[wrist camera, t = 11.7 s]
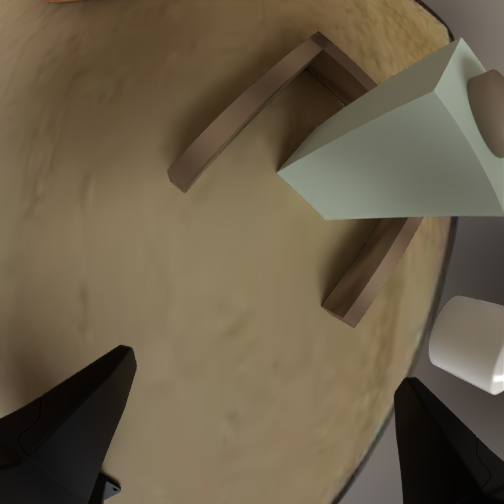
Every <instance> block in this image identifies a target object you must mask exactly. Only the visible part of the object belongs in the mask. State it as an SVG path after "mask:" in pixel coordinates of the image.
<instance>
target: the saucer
mask: <svg viewBox="0 0 504 504" xmlns="http://www.w3.org/2000/svg"><path fill="white" fill-rule="evenodd" d="M41 1H44V2H51V3H66V2H76V1H85V0H41Z"/></svg>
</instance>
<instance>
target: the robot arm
mask: <svg viewBox="0 0 504 504" xmlns="http://www.w3.org/2000/svg"><path fill="white" fill-rule="evenodd" d="M136 368H137V364H136V360H135V355H134V351H133V349H132V347H129V346H125V345H119V346H117V347H116V348H114V349H113V350H111V351H110V352H108V353H107V354H105V355H104V356H102V357H100V358H99V359H97V360H96V361H94V362H93V363H91V364H90V365H88V366H87V367H85V368H83V369H82V370H80V371H79V372H77V373H76V374H74V375H73V376H71V377H70V378H68V379H66V380H65V381H63V382H62V383H60V384H59V385H57V386H56V387H54V388H52V389H51V390H49V391H48V392H46V393H45V394H43V395H42V397H41V396H40V397H38V398H37V399H35V400H34V401H32V402H30V403H29V404H27V405H25V406H24V407H22V408H20V409H18V410H16V411H14V412H13V413H11V414H9V415H6V416H4V417H2V418H0V504H103V503H104V500H105V499H107V498H109V497H111V496H113V495H115V494H117V493H119V492H120V491H121V487H120V486H119V485H118V484H116V483H114V482H113V481H111V480H109V479H108V478H106V477H104V476H103V475H101V474H100V473H99V471H100V468H101V466H102V463H103V461H104V458H105V455H106V453H107V450H108V448H109V445H110V443H111V440H112V438H113V435H114V433H115V431H116V428H117V426H118V423H119V421H120V419H121V416H122V414H123V411H124V409H125V406H126V403H127V399H128V396H129V392H130V389H131V385H132V382H133V379H134V376H135V372H136ZM394 407H395V426H396V438H397V445H398V453H399V461H400V470H401V480H402V492H403V504H504V461H503V460H501V459H500V458H499V457H498V456H497V455H496V454H494V453H493V452H492V451H491V450H490V449H489V448H488V447H487V446H486V445H485V444H484V443H483V442H482V441H481V440H480V439H479V438H478V437H476V435H475V434H473V432H472V431H471V430H469V428H468V427H467V426H466V425H465V424H464V423H463V422H462V421H461V420H460V419H459V418H458V417H457V416H456V415H455V414H454V413H453V412H452V411H450V409H449V408H448V407H446V406H445V405H444V404H443V403H442V402H441V401H440V400H439V399H438V398H437V397H436V396H435V395H434V394H433V393H432V392H431V391H430V390H429V389H428V388H427V387H426V386H425V385H424V384H423V383H422V382H421V381H420V380H419V379H418V378H416V377H406V378H404V379H403V381H402V382H401V384H400V385H399V387H398V388H397V390H396V391H395V394H394Z"/></svg>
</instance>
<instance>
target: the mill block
mask: <svg viewBox="0 0 504 504" xmlns="http://www.w3.org/2000/svg"><path fill="white" fill-rule="evenodd" d="M276 173H277V174H278V175H279V176H280V177H281V178H282V179H283V180H285V181H286V182H287V183H288V184H289V185H290V186H291V187H292V188H293V189H294V190H295V191H296V192H297V193H299V194H300V195H301V196H302V197H303V198H304V199H305V200H306V201H307V202H308V203H309V204H310V205H311V206H312V207H313V208H314V209H315V210H316V211H317V212H318V213H319V214H320V215H321V216H322V217H323V218H324V219H325V220H339V219H363V218H392V217H433V216H504V77H503V76H502V75H501V74H500V73H499V72H498V71H497V70H490V71H488V72H486V71H485V69H484V68H483V66H482V65H481V63H480V62H479V60H478V59H477V58H476V56H475V55H474V53H473V52H472V51H471V49H470V48H469V47H468V45H467V44H466V43H465V42H464V40H463V39H462V38H459V39H457V40H455V41H453V42H452V43H450V44H448V45H446V46H444V47H442V48H441V49H439V50H437V51H435V52H433V53H432V54H430V55H428V56H426V57H425V58H423V59H421V60H419V61H418V62H416V63H414V64H413V65H411V66H409V67H408V68H406V69H404V70H403V71H401V72H399V73H398V74H396V75H394V76H393V77H391V78H389V79H388V80H386V81H385V82H383V83H381V84H380V85H378V86H377V87H375V88H374V89H372V90H370V91H369V92H367V93H366V94H364V95H363V96H361V97H360V98H358V99H357V100H355V101H354V102H352V103H351V104H349V105H348V106H346V107H345V108H343V109H342V110H340V111H339V112H337V113H336V114H334V115H333V116H332V117H330V118H329V119H327V120H326V121H324V122H323V123H321V124H320V125H319V126H317V127H316V128H315V129H314V130H313V131H312V132H311V133H310V135H309V136H308V137H307V138H306V139H305V140H304V141H303V142H302V144H301V145H300V146H299V147H298V148H297V149H296V150H295V152H294V153H293V154H292V155H291V156H290V157H289V158H288V160H287V161H286V162H285V163H284V164H283V165H282V167H281V168H280V169H279V170H278V171H277V172H276Z"/></svg>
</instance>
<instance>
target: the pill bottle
mask: <svg viewBox="0 0 504 504" xmlns="http://www.w3.org/2000/svg"><path fill="white" fill-rule="evenodd" d="M428 351H429V357H430V360H431V362H432V363H433V364H434V365H436V366H438V367H440V368H442V369H444V370H445V371H447V372H450V373H451V374H453V375H455V376H457V377H459V378H461V379H463V380H465V381H467V382H469V383H471V384H473V385H475V386H477V387H479V388H481V389H483V390H485V391H487V392H489V393H491V394H493V395H496V394H499V393H501V392H503V391H504V306H502V305H498V304H494V303H490V302H486V301H482V300H478V299H474V298H470V297H466V296H462V295H457V296H455V297H453V298H451V299H450V300H449V301H448V302H447V303H446V304H445V305H444V306H443V308H442V309H441V311H440V312H439V314H438V316H437V318H436V320H435V322H434V325H433V328H432V330H431V334H430V339H429V350H428Z"/></svg>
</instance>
